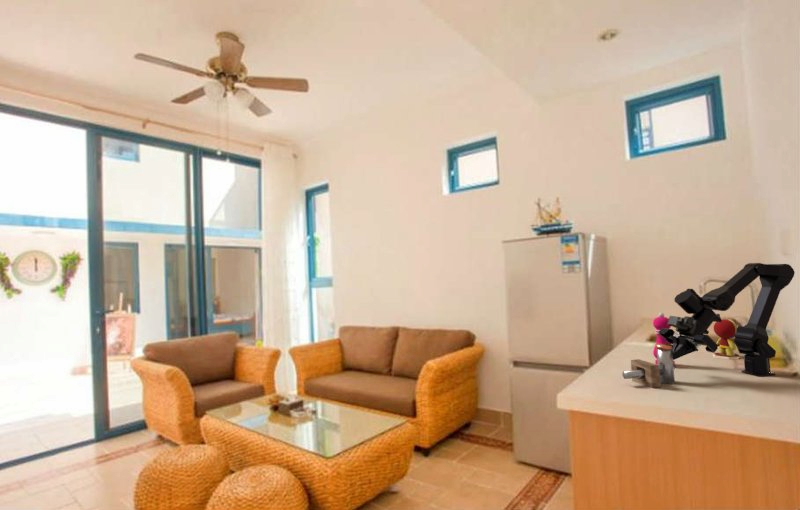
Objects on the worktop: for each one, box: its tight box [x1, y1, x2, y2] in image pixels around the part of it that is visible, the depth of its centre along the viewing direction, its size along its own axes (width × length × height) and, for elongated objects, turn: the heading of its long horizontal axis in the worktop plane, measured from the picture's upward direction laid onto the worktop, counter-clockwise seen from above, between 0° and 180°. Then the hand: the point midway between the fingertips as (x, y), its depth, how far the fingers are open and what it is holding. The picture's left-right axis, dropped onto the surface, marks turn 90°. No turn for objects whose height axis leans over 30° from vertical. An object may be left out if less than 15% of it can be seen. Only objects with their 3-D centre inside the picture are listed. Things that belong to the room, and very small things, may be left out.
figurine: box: [712, 318, 741, 360], centre depth 168 cm, size 9×10×15 cm
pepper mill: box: [652, 312, 676, 367], centre depth 159 cm, size 7×7×20 cm
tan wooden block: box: [630, 358, 661, 389], centre depth 137 cm, size 3×9×7 cm, turn 8°
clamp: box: [621, 343, 676, 384], centre depth 137 cm, size 18×5×12 cm, turn 98°
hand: (671, 358), depth 139 cm, fingers closed, pressing on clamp
